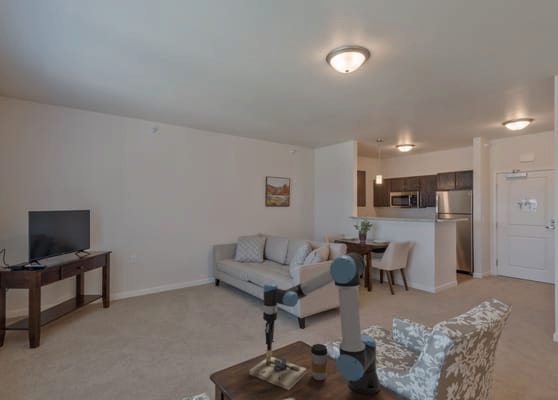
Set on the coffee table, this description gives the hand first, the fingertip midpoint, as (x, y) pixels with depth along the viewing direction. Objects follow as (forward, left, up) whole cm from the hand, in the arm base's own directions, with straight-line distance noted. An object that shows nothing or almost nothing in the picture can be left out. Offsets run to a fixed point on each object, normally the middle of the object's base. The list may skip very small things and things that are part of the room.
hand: (269, 354), depth 160 cm
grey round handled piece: (-7, +2, -3) cm, 8 cm away
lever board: (-8, +4, -6) cm, 11 cm away
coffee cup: (-27, -5, -6) cm, 28 cm away
